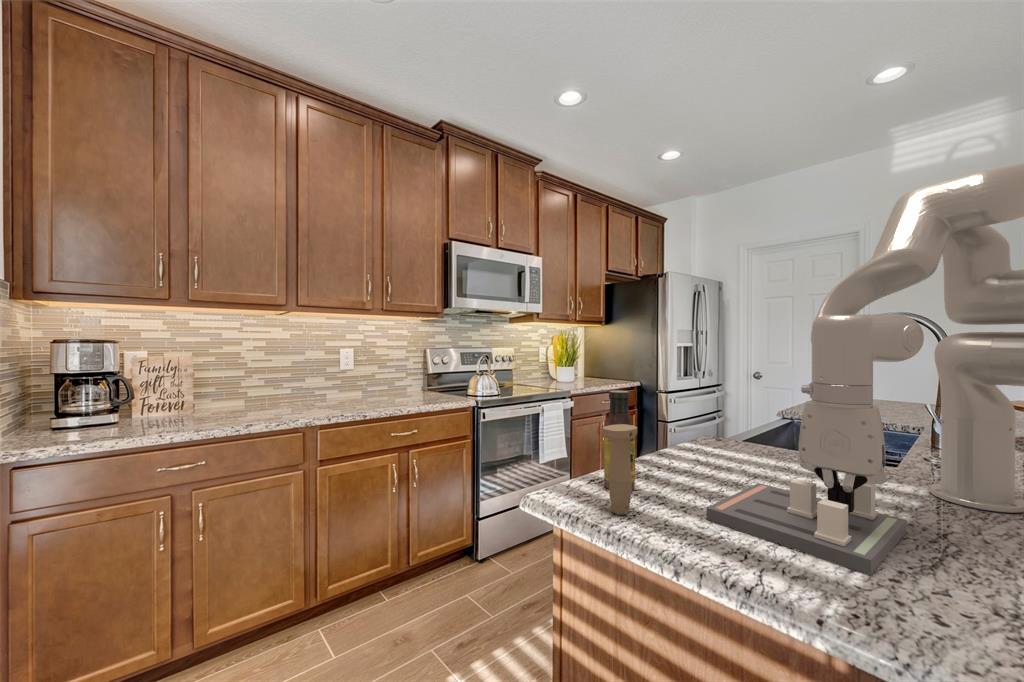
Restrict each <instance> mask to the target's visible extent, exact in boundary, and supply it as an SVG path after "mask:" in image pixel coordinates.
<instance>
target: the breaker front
mask: <svg viewBox="0 0 1024 682" xmlns="http://www.w3.org/2000/svg"><path fill="white" fill-rule="evenodd" d="M821 499H822V500H821V501H819V502H818V503H817V531H816V532H815V533H814V537H815V538H818V539H822V540H825V541H828V542H831V543H834V544H838V545H841V546H844V547H845V546H846V545H847V544H848V543H849V542H850V541H851V536H849V535H848V505H846V504H842V503H838V502H834V501H830V500H828V499H825V498H821Z"/></svg>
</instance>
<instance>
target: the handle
mask: <svg viewBox="0 0 1024 682" xmlns="http://www.w3.org/2000/svg"><path fill="white" fill-rule="evenodd" d="M604 426H605V425H604ZM604 426H603V427H602V435H603V437H604V436H605V437H607V438H608V439H610V443H611V448H610V467H609V489H608V493H609V502H610V503H611V504H610V510H611V513H613V514H616V515H618V516H620V515H621V516H622V515H625V516H626V515H629V511H630V505H631V499H632V491H633V490H632V488H631V487H632V478H631V462H630V440H631V439H632V438H634V437H635V438H636V436H637V435H638V427H637V426H636V425H633V426H632V425H626V424H617V425H609V426H605V427H604Z"/></svg>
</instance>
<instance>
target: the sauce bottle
mask: <svg viewBox="0 0 1024 682" xmlns="http://www.w3.org/2000/svg"><path fill="white" fill-rule="evenodd" d="M608 399H609V414H608V416H607V417H606V419H605V422H604V426H603V427H605V426H609V425H617V424H626V425H632V426H634V424H633V423H634V422H633V421H632V418H631V415H630V412H629V411H630V410H629V399H630V392H629V391H628V390H619V389H618V390H609V391H608ZM610 448H611V443H610V439H608V438H607V437H605V436H604V435H603V471H604V472H603V473H604V474H603V478H604V486H605V487H606V488H607V489H608V490H609V467H610ZM630 462H631V478H632V487H631V488H632V490H631V491H633V490H634V489H635V485H636V482H635V481H636V436H635V437H634V438H632V439H631V440H630Z"/></svg>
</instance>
